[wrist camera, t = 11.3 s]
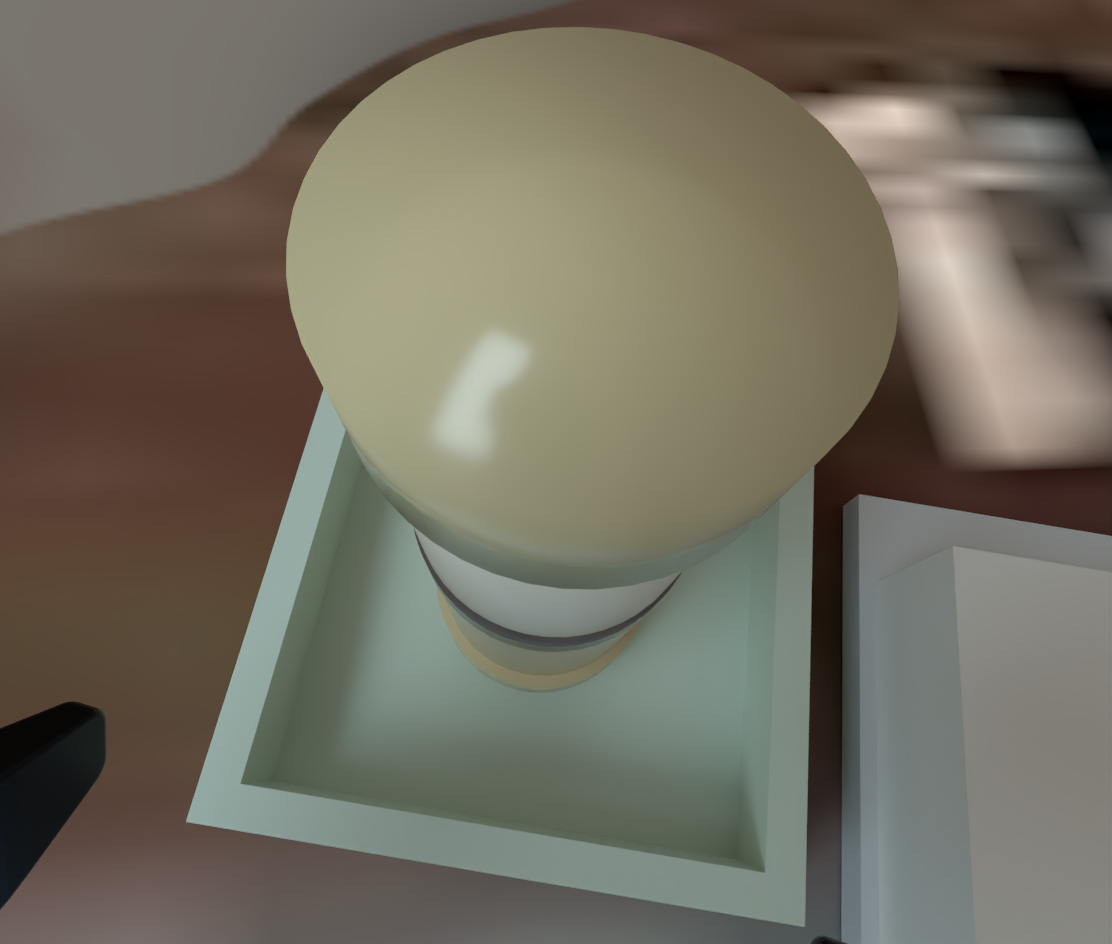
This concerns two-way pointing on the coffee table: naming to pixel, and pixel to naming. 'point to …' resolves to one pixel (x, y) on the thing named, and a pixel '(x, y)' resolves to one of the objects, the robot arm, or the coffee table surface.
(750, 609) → the parts tray
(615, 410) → the cream rounded cylinder
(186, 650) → the coffee table surface
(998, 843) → the grey block with recess
